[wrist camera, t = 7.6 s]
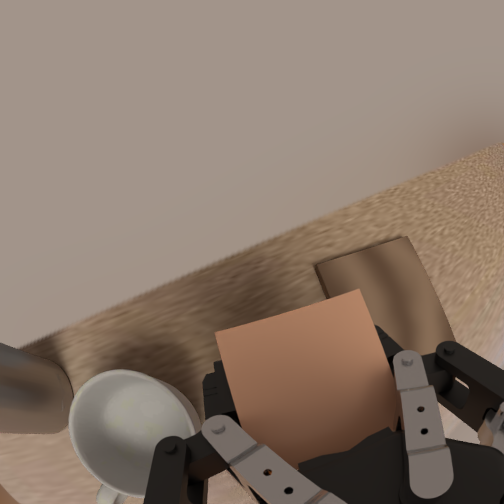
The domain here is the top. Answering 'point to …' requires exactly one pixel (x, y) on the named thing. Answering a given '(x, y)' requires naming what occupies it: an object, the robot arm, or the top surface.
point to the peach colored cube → (310, 378)
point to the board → (391, 293)
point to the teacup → (126, 428)
